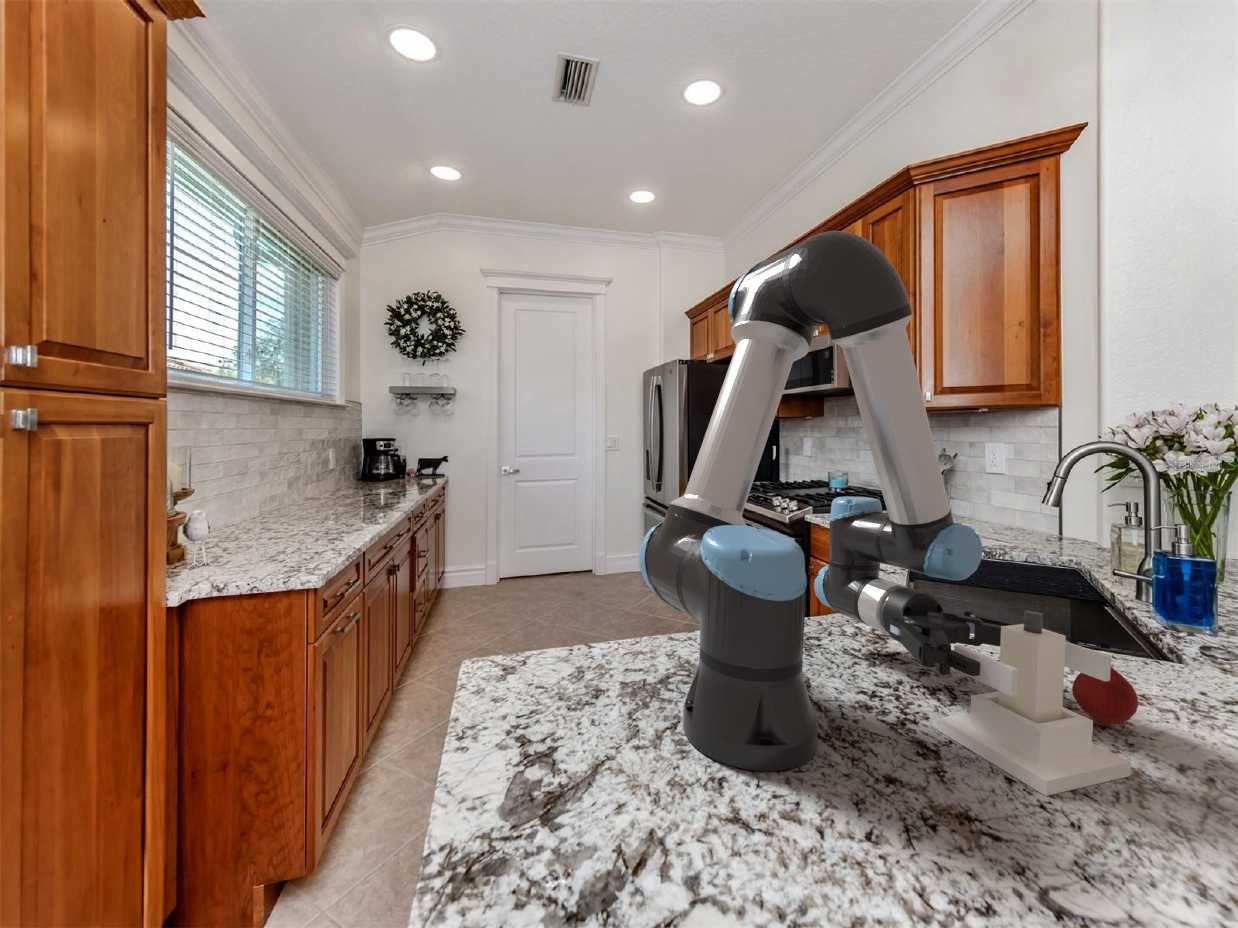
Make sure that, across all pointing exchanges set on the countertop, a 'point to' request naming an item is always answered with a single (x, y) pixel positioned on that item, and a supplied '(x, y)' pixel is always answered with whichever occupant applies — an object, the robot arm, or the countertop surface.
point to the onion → (1106, 698)
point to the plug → (1034, 669)
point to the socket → (1035, 746)
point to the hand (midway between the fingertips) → (1063, 675)
